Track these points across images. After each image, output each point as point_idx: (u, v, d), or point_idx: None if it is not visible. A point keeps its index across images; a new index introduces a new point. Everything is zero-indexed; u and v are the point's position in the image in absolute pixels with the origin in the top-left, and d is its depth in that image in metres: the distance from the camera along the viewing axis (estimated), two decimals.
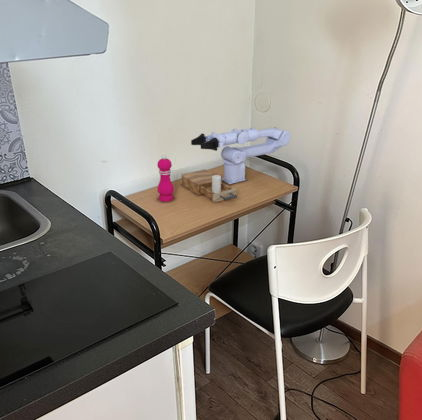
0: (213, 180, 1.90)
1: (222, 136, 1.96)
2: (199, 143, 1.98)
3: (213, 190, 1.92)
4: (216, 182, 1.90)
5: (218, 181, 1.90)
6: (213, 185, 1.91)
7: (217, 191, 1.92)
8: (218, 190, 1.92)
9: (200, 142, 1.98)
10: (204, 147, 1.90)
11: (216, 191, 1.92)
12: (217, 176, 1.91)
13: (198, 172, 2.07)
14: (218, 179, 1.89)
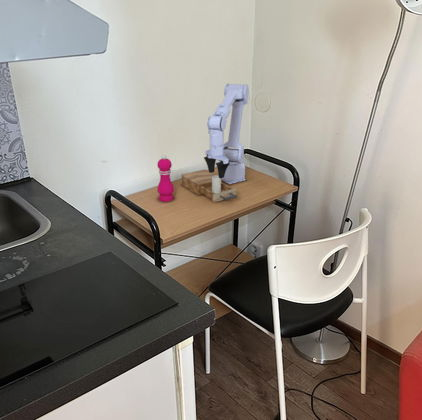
0: (213, 180, 1.90)
1: (215, 149, 1.83)
2: (213, 163, 1.92)
3: (213, 190, 1.92)
4: (216, 182, 1.90)
5: (218, 181, 1.90)
6: (213, 185, 1.91)
7: (217, 191, 1.92)
8: (218, 190, 1.92)
9: (213, 162, 1.92)
10: (223, 174, 1.87)
11: (216, 191, 1.92)
12: (217, 176, 1.91)
13: (198, 172, 2.07)
14: (218, 179, 1.89)
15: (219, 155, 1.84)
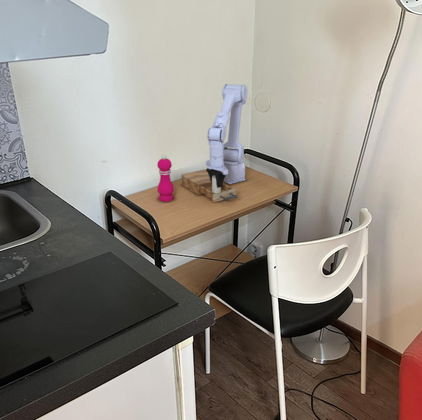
0: (213, 180, 1.90)
1: (215, 160, 1.85)
2: None
3: (213, 190, 1.92)
4: None
5: None
6: (213, 185, 1.91)
7: (217, 191, 1.92)
8: (218, 190, 1.92)
9: None
10: (221, 184, 1.90)
11: (216, 191, 1.92)
12: None
13: (198, 172, 2.07)
14: None
15: (219, 166, 1.86)
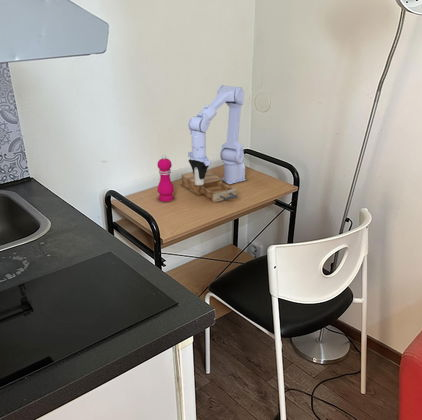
0: (195, 171, 1.85)
1: (197, 150, 1.80)
2: None
3: (196, 182, 1.87)
4: None
5: None
6: (195, 177, 1.86)
7: (200, 183, 1.87)
8: (201, 182, 1.87)
9: None
10: (203, 175, 1.85)
11: (199, 183, 1.87)
12: None
13: None
14: None
15: (201, 157, 1.81)
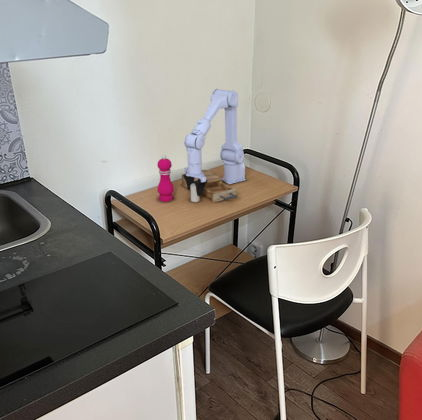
0: (191, 188, 1.88)
1: (192, 167, 1.82)
2: (192, 180, 1.92)
3: (192, 198, 1.90)
4: (195, 190, 1.88)
5: None
6: (191, 193, 1.89)
7: (196, 199, 1.90)
8: (197, 198, 1.89)
9: (191, 179, 1.91)
10: (201, 192, 1.86)
11: (195, 199, 1.89)
12: None
13: None
14: None
15: (197, 173, 1.84)
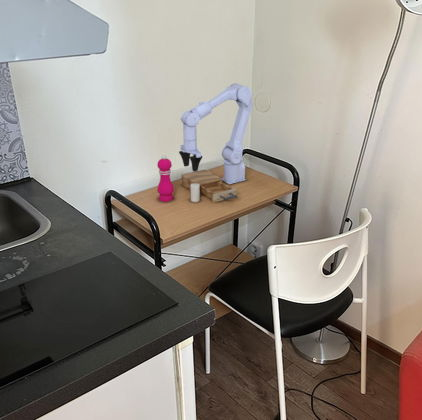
0: (191, 188, 1.88)
1: (188, 143, 1.92)
2: (188, 157, 2.02)
3: (192, 198, 1.90)
4: (195, 190, 1.88)
5: (196, 189, 1.88)
6: (191, 193, 1.89)
7: (196, 199, 1.90)
8: (197, 198, 1.89)
9: (187, 156, 2.01)
10: (196, 167, 1.96)
11: (195, 199, 1.89)
12: (196, 184, 1.89)
13: (198, 172, 2.07)
14: (196, 187, 1.87)
15: (192, 149, 1.94)
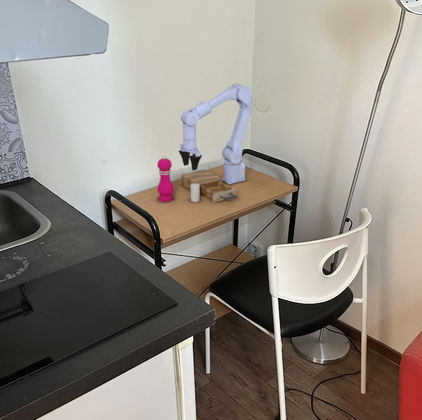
0: (191, 188, 1.88)
1: (188, 142, 1.94)
2: (188, 156, 2.03)
3: (192, 198, 1.90)
4: (195, 190, 1.88)
5: (196, 189, 1.88)
6: (191, 193, 1.89)
7: (196, 199, 1.90)
8: (197, 198, 1.89)
9: (187, 155, 2.03)
10: (196, 167, 1.97)
11: (195, 199, 1.89)
12: (196, 184, 1.89)
13: (198, 172, 2.07)
14: (196, 187, 1.87)
15: (192, 148, 1.95)
